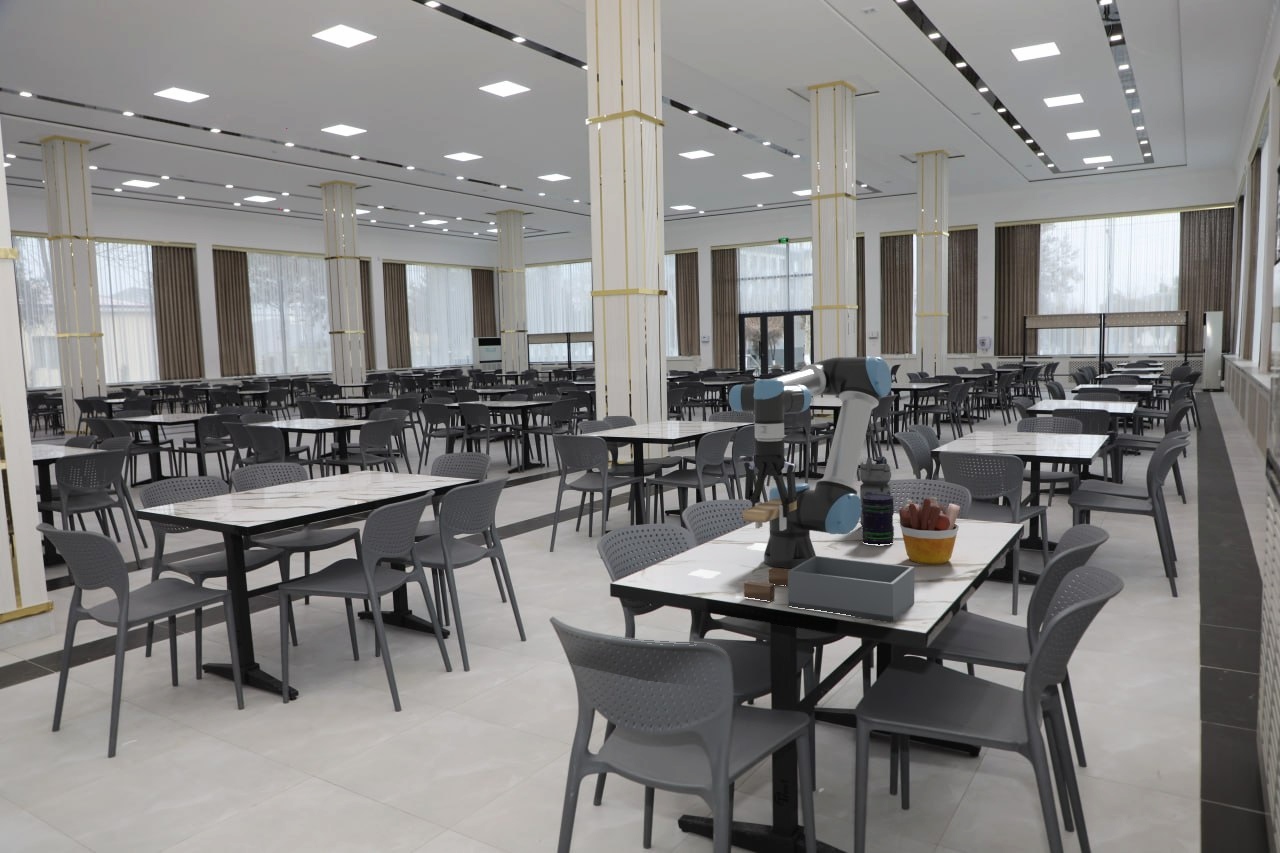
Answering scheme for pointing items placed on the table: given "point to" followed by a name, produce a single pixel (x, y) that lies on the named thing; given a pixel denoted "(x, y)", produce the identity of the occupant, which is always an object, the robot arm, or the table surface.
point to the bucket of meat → (929, 530)
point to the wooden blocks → (766, 585)
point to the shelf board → (766, 511)
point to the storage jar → (877, 519)
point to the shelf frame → (852, 587)
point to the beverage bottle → (874, 479)
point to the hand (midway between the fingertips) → (770, 528)
